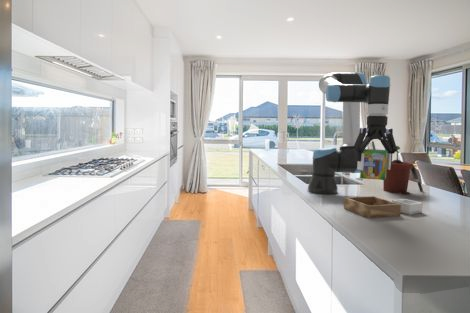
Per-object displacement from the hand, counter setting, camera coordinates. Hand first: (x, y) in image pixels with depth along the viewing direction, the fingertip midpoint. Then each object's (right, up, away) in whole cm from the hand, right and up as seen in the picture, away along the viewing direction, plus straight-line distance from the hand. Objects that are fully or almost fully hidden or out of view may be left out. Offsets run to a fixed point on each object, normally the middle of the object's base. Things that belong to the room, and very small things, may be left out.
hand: (373, 169), depth 128 cm
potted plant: (+36, -14, +47) cm, 61 cm away
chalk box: (0, -4, 0) cm, 4 cm away
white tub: (+15, -17, +4) cm, 24 cm away
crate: (0, -17, +2) cm, 17 cm away
